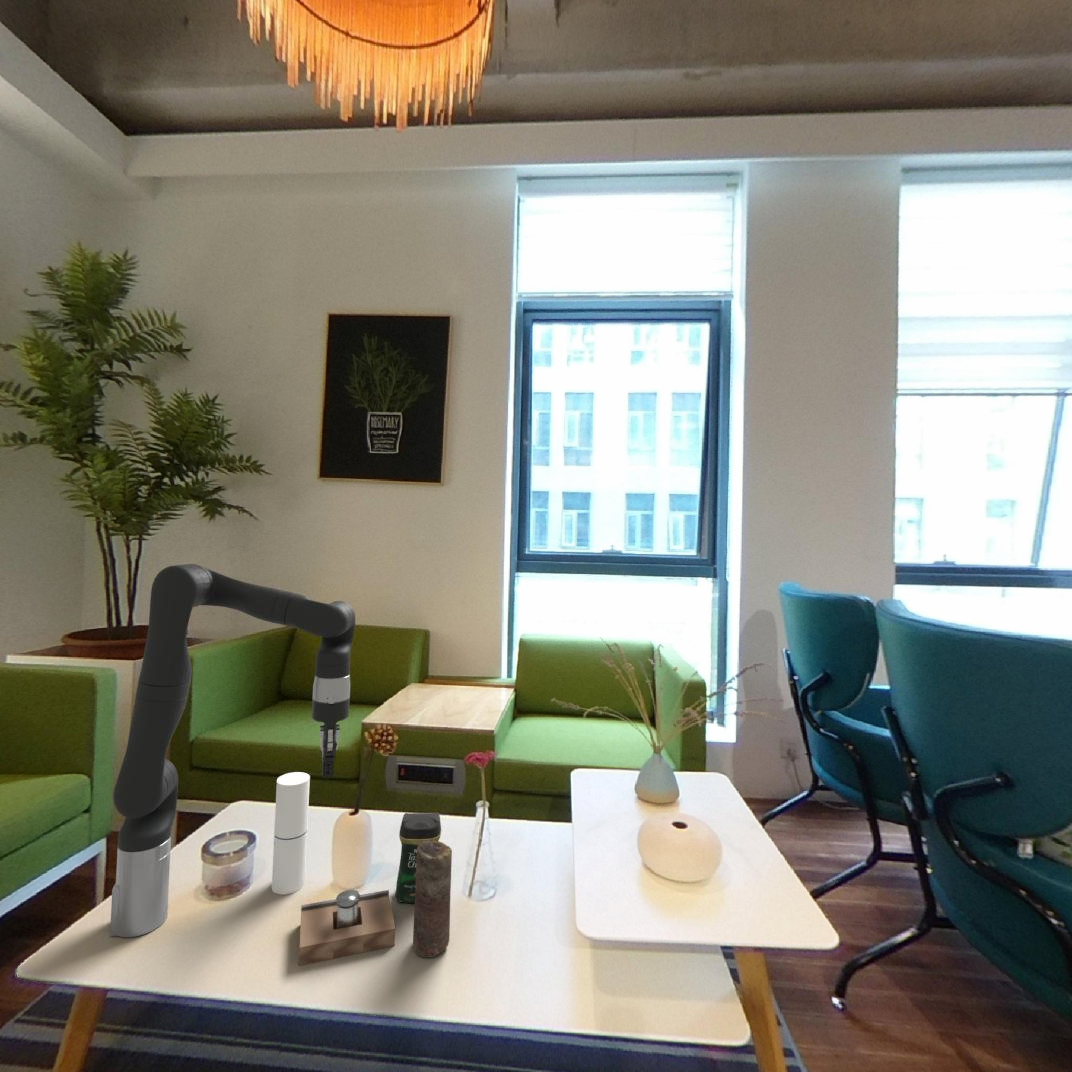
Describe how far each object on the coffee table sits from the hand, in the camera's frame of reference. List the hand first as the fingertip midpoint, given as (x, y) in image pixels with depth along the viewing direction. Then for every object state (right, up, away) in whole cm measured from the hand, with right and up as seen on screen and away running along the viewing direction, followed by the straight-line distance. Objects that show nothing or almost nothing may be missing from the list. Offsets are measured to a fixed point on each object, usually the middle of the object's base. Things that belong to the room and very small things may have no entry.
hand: (327, 776), depth 122 cm
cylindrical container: (-13, -31, +12) cm, 35 cm away
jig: (+5, -31, -4) cm, 32 cm away
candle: (+23, -32, -5) cm, 40 cm away
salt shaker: (+5, -31, -4) cm, 32 cm away
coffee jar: (+17, -32, +10) cm, 38 cm away
